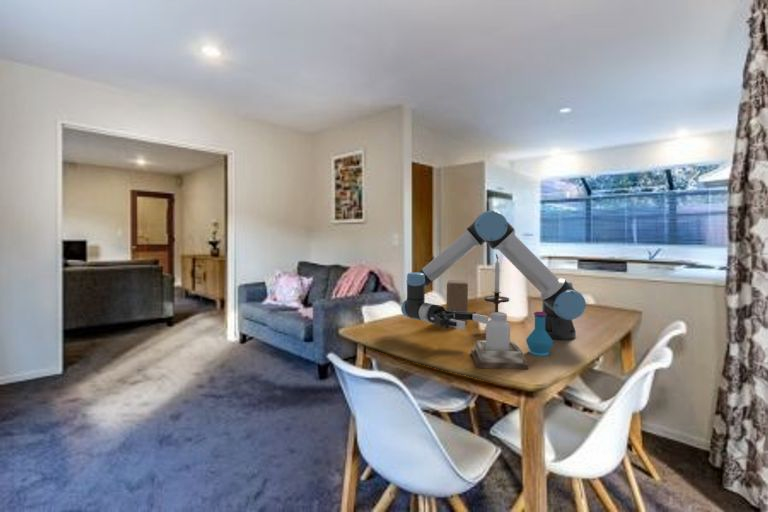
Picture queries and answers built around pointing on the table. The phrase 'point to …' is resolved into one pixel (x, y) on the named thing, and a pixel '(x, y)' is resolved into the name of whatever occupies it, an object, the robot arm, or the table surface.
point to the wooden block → (457, 296)
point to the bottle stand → (498, 357)
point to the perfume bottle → (539, 337)
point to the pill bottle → (498, 333)
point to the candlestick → (496, 289)
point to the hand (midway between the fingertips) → (476, 322)
